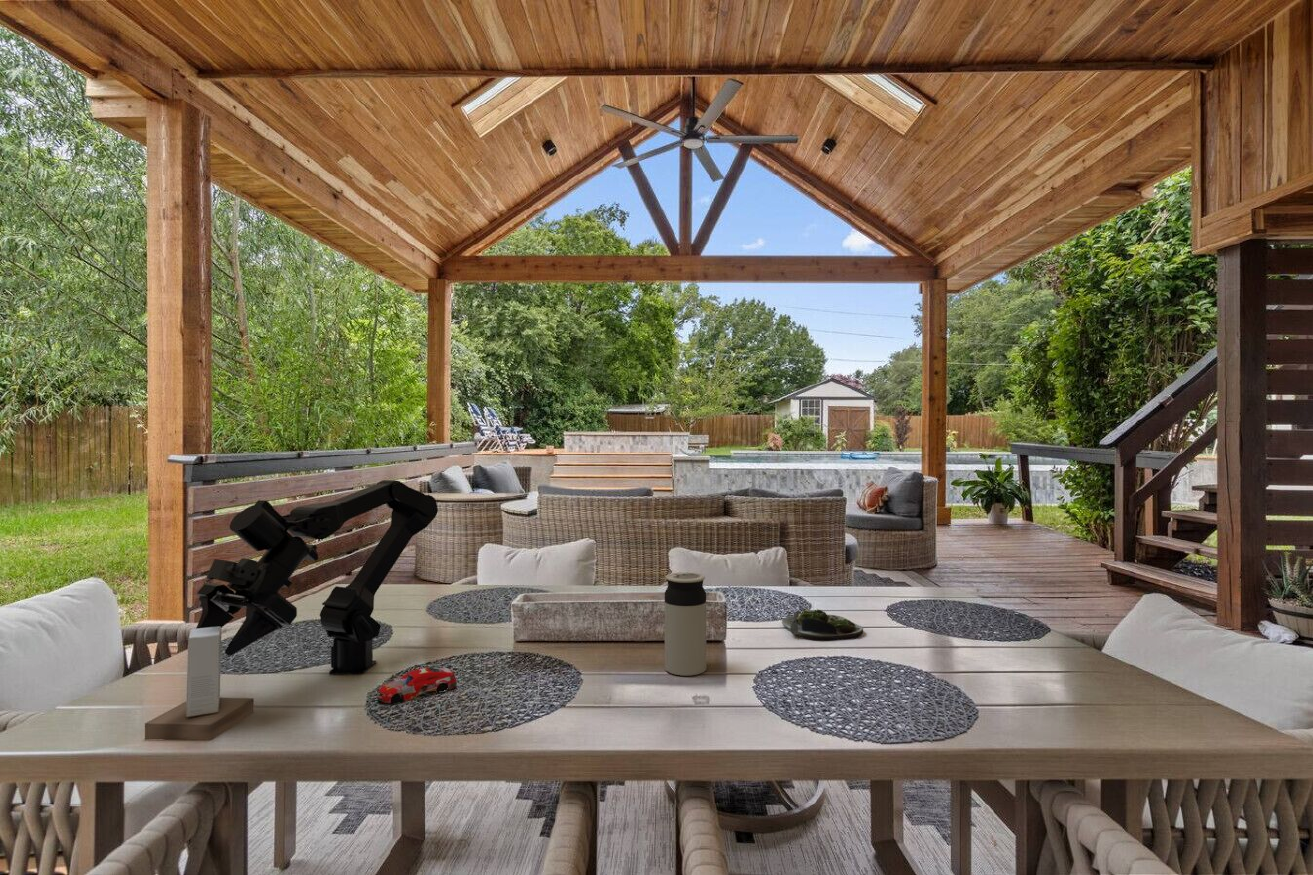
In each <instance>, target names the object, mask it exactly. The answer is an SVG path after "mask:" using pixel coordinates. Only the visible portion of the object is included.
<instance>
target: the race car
mask: <svg viewBox="0 0 1313 875" xmlns="http://www.w3.org/2000/svg"><path fill="white" fill-rule="evenodd" d="M456 685H457V677H456V675H455V673H454V671H453V670H452V669H450V668H447V667H445V668H444V667H443V668H442V667H441V668H440V667H436V666H435V667H431V666H429V667H422V668H417V669H414V670H411V671H409V672H407V673H405V674H402V676H401V677H400V678H398V679H396V680H393V681H389V682H387V683H385V684H382V686H380V688H379V689H378V691H377V695H376V696H377V700H378V701H379V702H381V703H383V704H392V705H395V704H394V703H397V704H399V703H398V702H401V703H402V702H405V701H410V700H413V699H417V698H418V699H419V698H422V697H427V696H430V695H429V694H431V695H433V693H435V694H437V693H438V692H439V691H444V690H447V691H448V689H449V690H452V689H453V688H454V687H456ZM447 688H448V689H447ZM436 692H437V693H436Z"/></svg>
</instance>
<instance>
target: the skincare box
mask: <svg viewBox="0 0 1313 875" xmlns="http://www.w3.org/2000/svg"><path fill="white" fill-rule="evenodd" d="M187 643H188V644H187V667H186V668H187V670H186V671H187V672H186V675H187V676H186V677H187V678H186V700H185V702H186V716H187V717H191V716H197V715H203V714H210V713H216V712H218V710H219V701H220V698H221V664H222V662H221V659H222V657H221V656H222V628H221V627H220V626H219V627H208V628H198V629H196V628H192V629H190V630H189V635H188V639H187Z"/></svg>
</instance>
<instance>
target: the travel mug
mask: <svg viewBox="0 0 1313 875" xmlns="http://www.w3.org/2000/svg"><path fill="white" fill-rule="evenodd" d="M705 578H706V577H705V575H704V574H702V573H698V572H692V571H691V572H689V571H681V572H680V571H679V572H671V573H668V574H667V575H665V579H666V581H667V587H666V590H665V591H664V670H665V671H667V672H668V673H670V674H671V675H675V676H679V675H680V676H679V677H691V676H692V677H693V675H694V676H697V675H700V674H702V673H704V672H706V670H707V592H706V590H705V588H704V586H703V585H704V580H705Z"/></svg>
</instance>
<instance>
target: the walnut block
mask: <svg viewBox="0 0 1313 875" xmlns="http://www.w3.org/2000/svg"><path fill="white" fill-rule="evenodd" d="M254 703H255V699H254V698H253V697H252V698H251V697H250V698H248V697H220V701H219V710H218V712H216V713H210V714H203V715H197V716H191V717H187V716H186V701H184V702H182V703H181V704H179V705H176V706H175V707H173V708H171V709H169V710H167V711H166V712H164V713H162V714H159V715H158V716H156V717H154V718H153V719H151V720H148V721H147V722H145V723H144V740H145V739H163V740H162V741H164V740H165V741H212V740H214V739H215V738H217V737H219V735H222V734H223V733H224V732H226V731H227V730H229V729H230V728H232V727H234V726H235V725H237V724H238V723H240V722H242V720H244V719H246V718H247V717H249V716H251V715H252V714H254V712H255V711H254V709H255V708H254V707H255V704H254Z"/></svg>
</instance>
